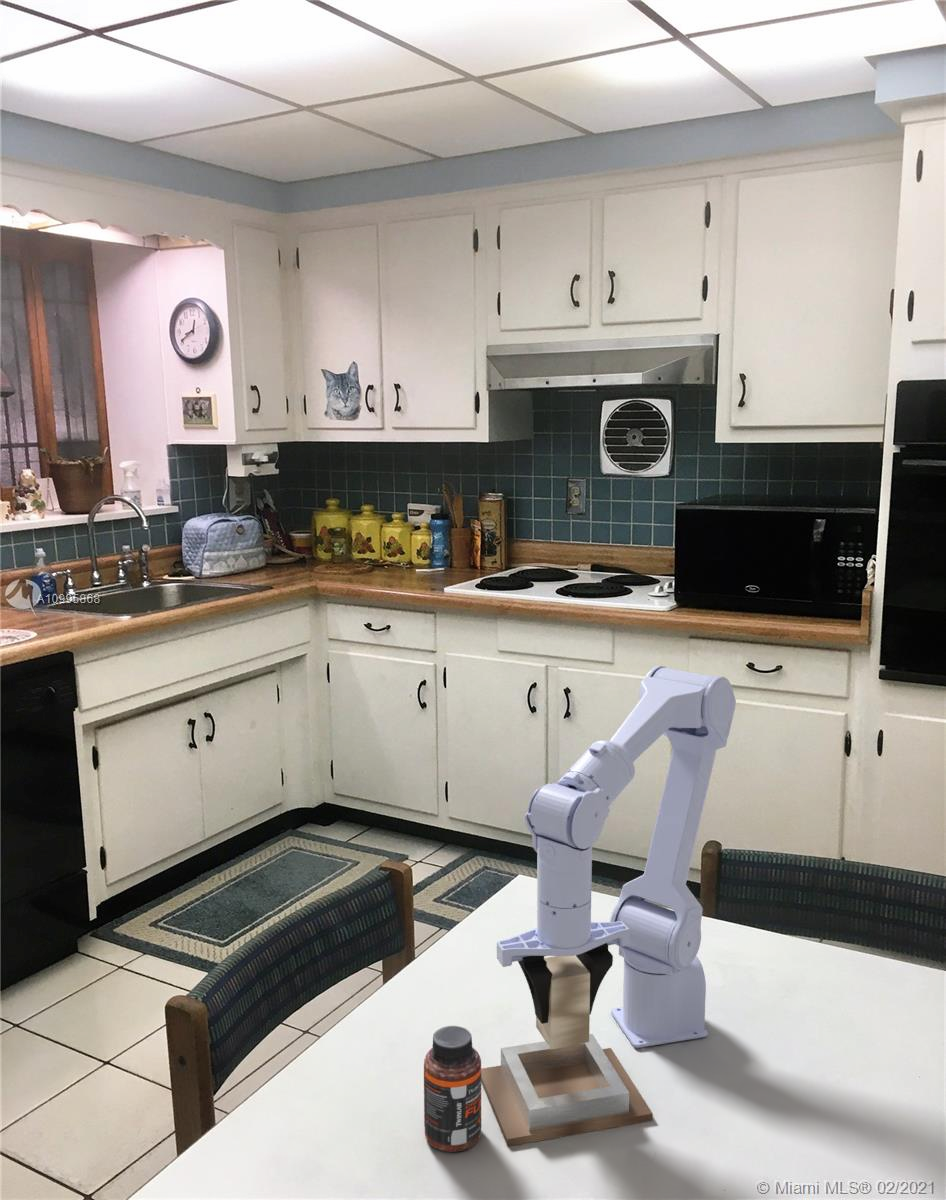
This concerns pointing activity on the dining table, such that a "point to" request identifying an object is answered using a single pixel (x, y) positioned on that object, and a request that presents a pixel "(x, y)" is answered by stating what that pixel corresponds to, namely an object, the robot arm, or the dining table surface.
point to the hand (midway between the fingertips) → (563, 1014)
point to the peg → (567, 1003)
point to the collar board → (560, 1091)
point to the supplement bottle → (452, 1091)
